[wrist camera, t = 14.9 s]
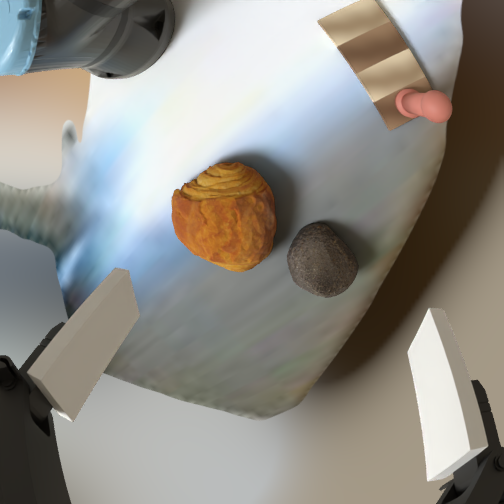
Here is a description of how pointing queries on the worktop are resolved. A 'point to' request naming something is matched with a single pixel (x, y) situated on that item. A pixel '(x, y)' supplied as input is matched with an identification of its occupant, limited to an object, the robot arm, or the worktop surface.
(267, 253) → the croissant
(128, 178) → the worktop surface
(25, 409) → the robot arm
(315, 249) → the stone
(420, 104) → the pawn
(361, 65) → the track
